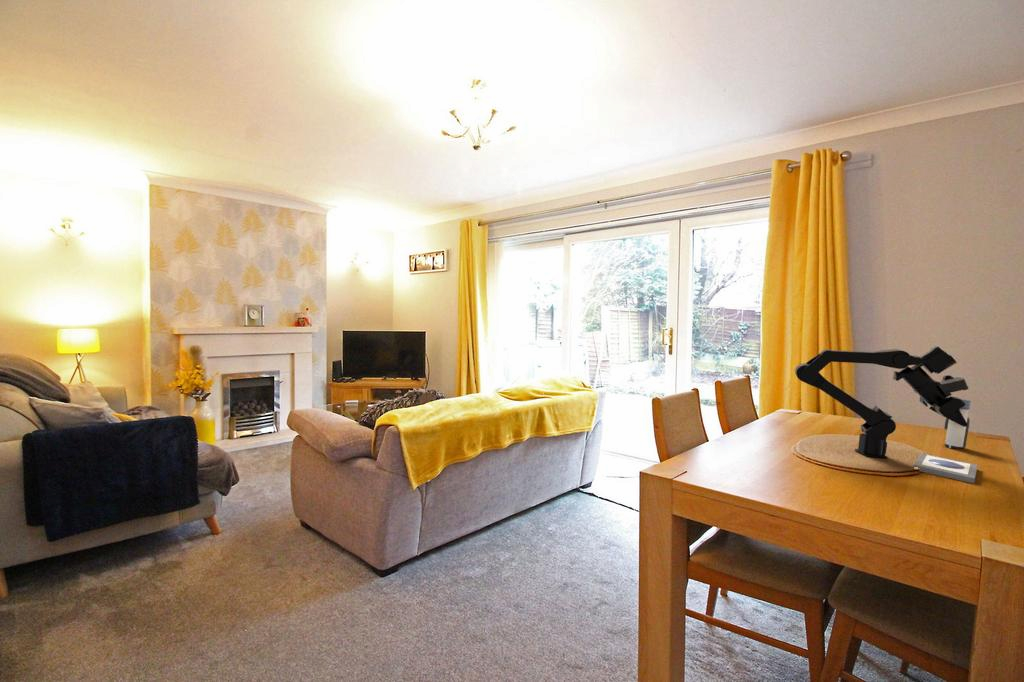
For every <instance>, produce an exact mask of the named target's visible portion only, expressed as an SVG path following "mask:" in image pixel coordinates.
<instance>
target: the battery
mask: <svg viewBox="0 0 1024 682" xmlns="http://www.w3.org/2000/svg"><path fill="white" fill-rule="evenodd" d="M948 421H949V419H948V418H946V417H945V422H944V430H947V428H948ZM967 424H968V425H967V426H966V430H965V437H964V443H963V447H956V446H951V445H948V444H945V443H944V444H943V445H944V447H947V448H949V449H965V448H966V447H967V441H968V440H967V439H968V435H969V428H970V418H969V417H968V418H967Z"/></svg>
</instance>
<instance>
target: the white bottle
mask: <svg viewBox="0 0 1024 682" xmlns="http://www.w3.org/2000/svg"><path fill="white" fill-rule="evenodd" d="M960 399H961V400H962V401H963V402H964V403H965V404H966V405H965V406H963V407H961V408H960V412H961V414H962V415H963V417H964V419H965V421H966V422H967V418H969V410H970V408H971V400H969V399H965V398H960ZM965 430H966V427H963V426H961V425H959V424H957V423H955V422H953V421H951V420H949V421H948V428H947V429H946V435H945V441H944V445H945V444H948V445H951V446H956V447H963V443H964V437H965Z"/></svg>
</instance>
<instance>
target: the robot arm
mask: <svg viewBox="0 0 1024 682" xmlns="http://www.w3.org/2000/svg"><path fill="white" fill-rule="evenodd" d="M832 362H834V363H848V364H849V363H851V364H852V363H853V364H870V365H871V364H873V365H878V366H883V367H887V368H893V369H899V370H900V371H896V370H895V371H894V370H893V377H892V379H893V380H895V381H896V382H899V381H900V380H902V379H903V380H904V381H905V383H907V384H908V386H909V387H910V388H912V390H913V392H914V393H916V394H917V395H918V396H919V402H920V403H921V404H922V405H923V406H924V407H926V408H927V407H928V406H930V407H929V408H928V409H929V410H931V411H932V412H935V413H937V414H938V415H940V416H941V417H944V418H945V419H946V418H948V419H949V420H951V421H953V422H955V423H957V424H959V425H961V426H963V427H966V426H967V425H968V424H967V422H966V421H965V419H964V417H963V415H962V414H961V412H960V408H961V407H963V406H965V405H966V404H965V403H964V402H963V401H962V400H961V399H962V398H959V397H957V396H952V395H953V394H952V393H955V392H960V391H967V390H969V386H968V384H967V382H966V379H965V378H963V377H960V376H959V377H958V376H955V377H954V376H952V375H950V374H946V375H944V376H942V380H940V381H938V380H935V379H933V377H931V375H932V374H933V373H934V374H937V375H939V374H940V373H941V374H942V372H944V371H946V370H947V369H949V368H951V367H953V366H954V365H955V364H957V361H956V359H955V358H954V357H953V356H952V355H951V354H948V353H947V352H946V351H945V350H943V349H942V348H941V347H940V346H937V345H936V346H933V347H932V348H931V349H930V350H929V351H927V352H926V353H923V354H922V355H920V356H919V355H916V354H913V355H911V354H910V353H908V351H905V350H901V349H899V348H898V349H897V348H893V349H892V348H891V349H883V350H876V351H860V350H857V351H856V350H834V349H833V350H832V349H822V351H820V352H819V353H818V354H817V355H815V356H813V357H812V358H810V359H809V360H808V361H807V362H805V363H804V362H803V363H800V364H798V365H797V366H796V367H795V370H794V373H795V374H794V375H796V378H797V379H798V380H799V381H801V382H803V383H805V384H807V385H809V386H811V387H814V388H816V389H819V390H820V391H822V392H823V393H825V394H827V395H828V396H829V397H831V398H833V399H834V400H836V401H837V402H839V403H840V404H841V405H843V406H844V407H846V408H847V409H849V410H850V411H852V412H853V413H855V414H856V415H858V416H859V417H861V418H862V419H863V420H864V421H865V422H864V423H862V424H861V425H860V426H859V427H860V429H861V433H859V438H858V439H859V440H858V446H857V448H854V451H855V452H857V453H859V454H861V455H863V456H865V457H867V458H868V457H870V458H879V457H884V458H883V459H888V458H887V457H888V455H886V454H887V447H888V442H887V438H888V436H889V435H891V434H893V433H894V432H895V430H896V429H897V425H896V422H895V421H894V420H893V415H891V414H890V413H888V412H887V411H883V410H882V409H881V408H880V407H878V405H876V404H875V405H874V407H873V408H872V407H870V406H867V405H866V404H864V403H863V402H861V401H859V400H858V399H856V398H855V397H853V396H852V395H851V394H849V393H847V392H845V391H844V390H843V389H842V388H840V387H838V386H837V385H835V384H834V383H832V382H831V381H829V380H827V378H825V377H824V376H823V375H822V374H821V373H820V372H821V371H822V370H823V369H825V367H826V366H828V365H829V364H830V363H832ZM910 366H911V367H910ZM922 367H923V368H924V369H925V370H924V369H923V368H922ZM928 373H929V374H928ZM930 374H931V375H930Z"/></svg>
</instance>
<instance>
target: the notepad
mask: <svg viewBox="0 0 1024 682" xmlns="http://www.w3.org/2000/svg"><path fill="white" fill-rule="evenodd" d="M914 467H918V468H920V470H919V471H918V472H921V473H925V474H931V475H934V476H939V477H943V478H947V479H953V480H956V481H961V482H964V483H965V482H966V483H968V484H969V483H970V484H972V485H973V484H975V482H976V475H977V470H978V464H976V463H971V462H965V461H962V460H961V461H960V460H956V459H953V458H946V457H942V456H937V455H932V454H926V453H922V452H921V453H920V455H919V456H918V458H917V459H916V461H915V463H914V464H913V468H914Z"/></svg>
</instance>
